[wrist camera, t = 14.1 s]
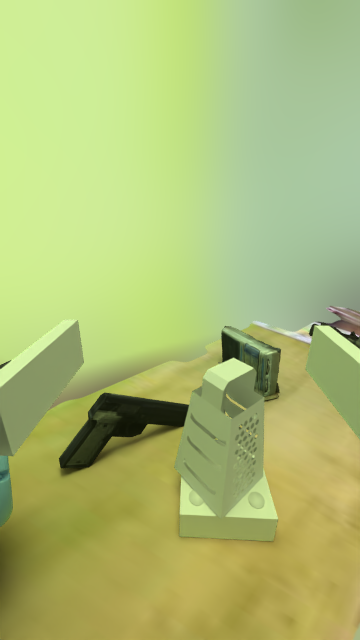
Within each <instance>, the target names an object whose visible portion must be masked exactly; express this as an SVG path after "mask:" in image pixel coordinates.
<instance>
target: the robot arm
mask: <svg viewBox="0 0 360 640" xmlns="http://www.w3.org/2000/svg"><path fill="white" fill-rule="evenodd" d="M83 363H84V360H83V353H82V345H81V338H80V331H79V324H78V320H63V321H62V322H61V323H59V324H58V325H57V326H56V327H55V328H53V329H52V330H51V331H49V332H48V333H47V334H45V335H44V336H43V337H41V338H40V339H39V340H38V341H36V342H35V343H34V344H32V345H31V346H30V347H29V348H27V349H26V350H25V351H24V352H22V353H21V354H20V355H18V356H17V357H16V358H14V359H13V360H10V361H8V362H6V363H4V364H2V365H0V527H1V526H2V525H3V524H4V523H5V522H6V521H7V520H8V519H9V517H10V515H11V513H12V509H13V501H12V490H11V481H10V473H9V463H8V456H14V454H15V453H16V452H17V450H18V449H19V448H20V446H21V445H22V444H23V442H24V441H25V440H26V438H27V437H28V436H29V434H30V433H31V432H32V430H33V429H34V428H35V427H36V425H37V424H38V423H39V421H40V420H41V419H42V417H43V416H44V415H45V413H46V412H47V411H48V409H49V408H50V407H51V405H52V404H53V403H54V401H55V400H56V399H57V398H58V396H59V395H60V394H61V392H62V391H63V389H64V388H65V387H66V386H67V384H68V383H69V382H70V380H71V379H72V378H73V376H74V375H75V374H76V372H77V371H78V370H79V369H80V367H81V366H82V365H83ZM306 371H307V372H308V373H309V374H310V376H311V377H312V378H313V380H314V381H315V382H316V383H317V385H318V386H319V387H320V389H321V390H322V391H323V393H324V394H325V395H326V396H327V398H328V399H329V400H330V402H331V403H332V404H333V406H334V407H335V408H336V409H337V411H338V412H339V413H340V415H341V416H342V417H343V418H344V420H345V421H346V422H347V424H348V425H349V426H350V428H351V429H352V430H353V431H354V433H355V434H356V435H357V437H358V438H359V439H360V349H359V348H358V347H356V346H355V345H354V344H352V343H351V342H350V341H348V340H347V339H346V338H344V337H343V336H342V335H340V334H339V333H338V332H336V331H335V330H334V329H333V328H331V327H330V326H316V325H315V326H314V331H313V336H312V341H311V345H310V350H309V355H308V360H307V364H306Z"/></svg>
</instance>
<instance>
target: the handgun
mask: <svg viewBox="0 0 360 640" xmlns="http://www.w3.org/2000/svg"><path fill="white" fill-rule="evenodd" d="M188 408H189V405H186V404H180V403H173V402H166V401H159V400H152V399H145V398H139V397H132V396H125V395H118V394H111V393H103V394H102V395H100V397H99V398H98V399H97V401H96V402H95V403H94V405H93V406H92V407H91V409H90V410H89V411H88V421H87V422H86V423H85V425H84V426H83V427H82V428H81V430H80V431H79V432H78V433H77V435H76V436H75V438H74V439H73V440H72V442H71V443H70V444H69V446H68V447H67V448H66V450H65V451H64V452H63V454H62V455H61V456H60V458H59V461H60V467H61V468H82V467H90V466H91V464H92V463H93V461H94V460H95V459H96V457H97V456H98V455H99V453H100V452H101V450H102V449H103V448H104V446H105V445H106V444H107V442H108V441H109V440H110V438H111V437H112V436H114V437H133V436H136V435H139V434H141V433H142V431H143V430H144V428H145V427H146V425H147V424H156V425H168V426H181V427H183V426H184V425H185V420H186V416H187V412H188Z"/></svg>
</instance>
